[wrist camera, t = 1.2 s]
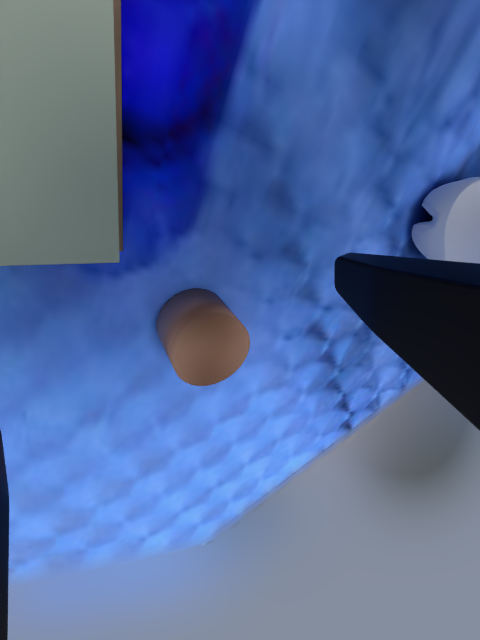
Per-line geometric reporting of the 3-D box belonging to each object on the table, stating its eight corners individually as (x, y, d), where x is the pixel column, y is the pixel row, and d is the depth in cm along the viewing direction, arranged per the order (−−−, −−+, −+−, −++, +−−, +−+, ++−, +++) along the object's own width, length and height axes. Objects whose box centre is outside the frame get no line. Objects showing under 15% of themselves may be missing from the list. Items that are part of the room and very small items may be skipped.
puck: (229, 286, 25) (255, 313, 22) (220, 346, 27) (243, 378, 24) (157, 290, 23) (175, 321, 20) (154, 355, 25) (170, 392, 22)
